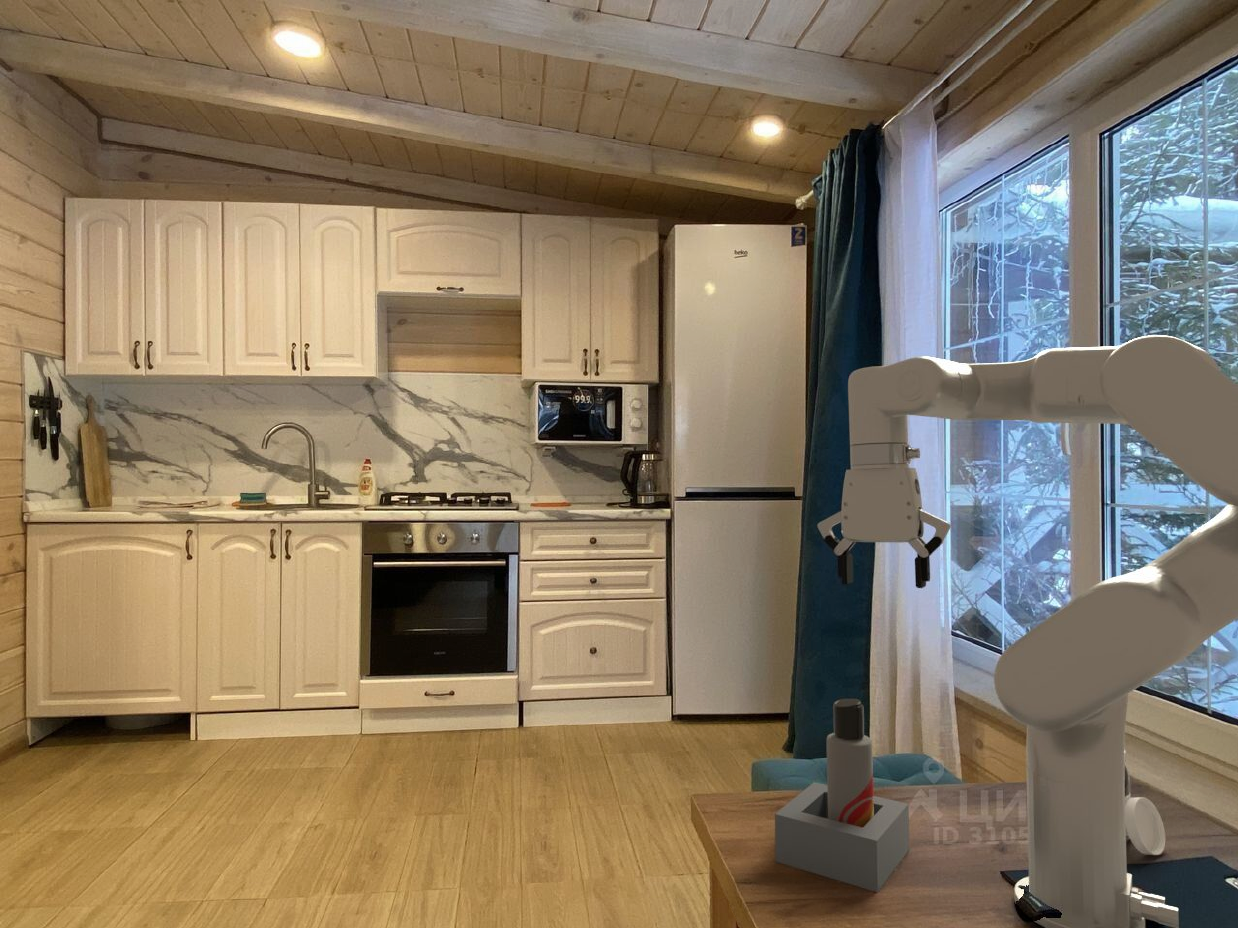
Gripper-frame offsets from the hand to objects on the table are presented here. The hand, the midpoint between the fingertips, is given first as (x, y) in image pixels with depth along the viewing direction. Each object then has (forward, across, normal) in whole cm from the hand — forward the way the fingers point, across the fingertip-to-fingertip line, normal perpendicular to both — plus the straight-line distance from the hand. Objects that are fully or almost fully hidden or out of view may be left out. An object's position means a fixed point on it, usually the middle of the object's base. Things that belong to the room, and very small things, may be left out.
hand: (883, 585), depth 105 cm
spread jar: (+35, -25, -18) cm, 47 cm away
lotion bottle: (+35, +4, +6) cm, 35 cm away
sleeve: (+34, +5, +6) cm, 35 cm away
